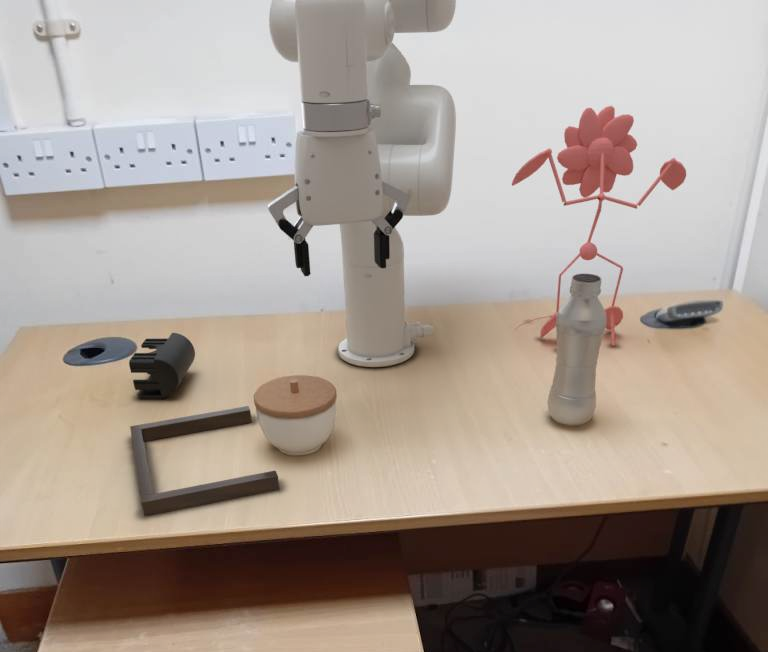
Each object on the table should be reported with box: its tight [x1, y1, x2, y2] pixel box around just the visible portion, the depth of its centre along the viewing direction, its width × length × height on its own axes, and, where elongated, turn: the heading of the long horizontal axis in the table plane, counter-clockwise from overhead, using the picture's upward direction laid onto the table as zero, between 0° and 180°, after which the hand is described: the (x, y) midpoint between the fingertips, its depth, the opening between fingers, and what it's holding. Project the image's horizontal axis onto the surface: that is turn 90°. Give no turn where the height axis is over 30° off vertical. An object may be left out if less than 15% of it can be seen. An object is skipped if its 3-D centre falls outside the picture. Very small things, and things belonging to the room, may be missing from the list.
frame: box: [129, 405, 280, 517], centre depth 103 cm, size 16×20×2 cm
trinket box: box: [253, 374, 338, 457], centre depth 104 cm, size 11×11×9 cm
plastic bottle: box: [547, 273, 607, 426], centre depth 105 cm, size 6×7×20 cm
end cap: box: [128, 332, 196, 400], centre depth 121 cm, size 10×7×7 cm
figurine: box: [511, 105, 687, 347], centre depth 125 cm, size 15×26×35 cm, turn 98°
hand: (343, 269), depth 99 cm, fingers open, 9 cm apart
